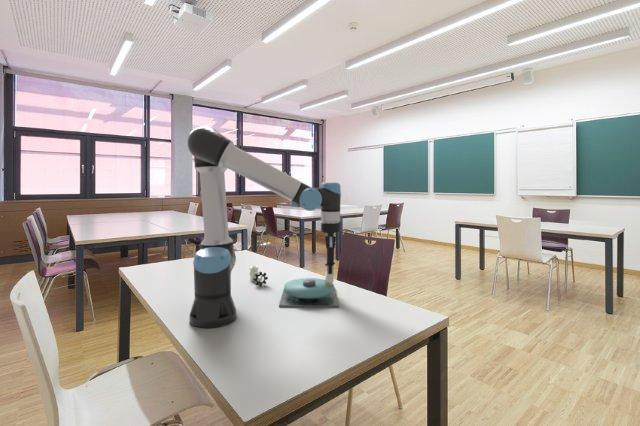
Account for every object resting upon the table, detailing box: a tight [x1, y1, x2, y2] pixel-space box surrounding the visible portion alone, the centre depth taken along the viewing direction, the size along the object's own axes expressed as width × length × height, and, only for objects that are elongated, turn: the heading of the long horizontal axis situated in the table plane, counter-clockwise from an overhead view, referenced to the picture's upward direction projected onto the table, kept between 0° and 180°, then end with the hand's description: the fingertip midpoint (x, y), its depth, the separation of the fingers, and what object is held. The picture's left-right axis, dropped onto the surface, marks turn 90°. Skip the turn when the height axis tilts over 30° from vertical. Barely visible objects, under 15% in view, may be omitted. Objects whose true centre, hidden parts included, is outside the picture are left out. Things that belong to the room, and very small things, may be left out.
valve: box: [249, 265, 269, 287], centre depth 154 cm, size 7×7×12 cm
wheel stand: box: [278, 286, 339, 308], centre depth 135 cm, size 22×22×3 cm
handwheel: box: [283, 271, 335, 299], centre depth 135 cm, size 20×20×7 cm
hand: (329, 281), depth 132 cm, fingers closed
